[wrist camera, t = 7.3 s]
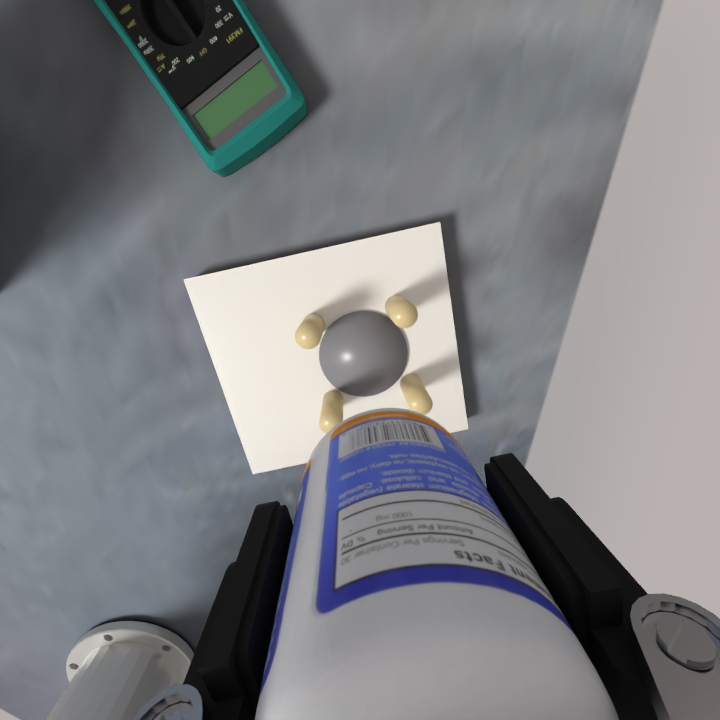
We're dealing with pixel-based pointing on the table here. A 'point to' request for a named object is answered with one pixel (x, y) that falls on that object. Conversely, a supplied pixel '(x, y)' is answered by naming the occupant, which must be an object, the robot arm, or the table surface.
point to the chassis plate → (332, 340)
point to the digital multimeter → (212, 74)
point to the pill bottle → (414, 593)
